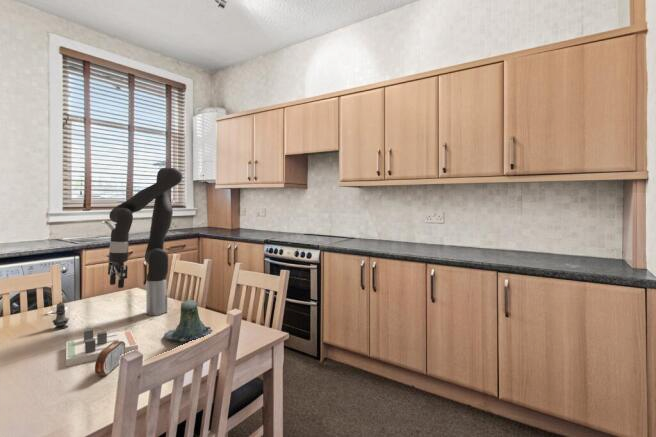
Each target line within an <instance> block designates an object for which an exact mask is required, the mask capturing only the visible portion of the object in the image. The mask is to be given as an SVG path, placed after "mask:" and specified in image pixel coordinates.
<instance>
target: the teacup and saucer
mask: <svg viewBox="0 0 656 437" xmlns="http://www.w3.org/2000/svg"><path fill="white" fill-rule="evenodd" d="M68 309H69V308H68V307H67V306H65V313H67V312H68ZM56 311H57V304H54V305H53V306H52V307H51V308H50V311H48V312H47V313H46V315H47V316H56ZM51 313H54V314H51Z"/></svg>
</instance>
